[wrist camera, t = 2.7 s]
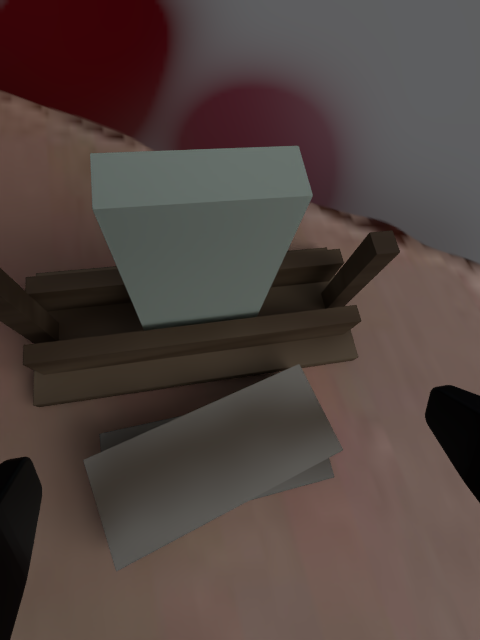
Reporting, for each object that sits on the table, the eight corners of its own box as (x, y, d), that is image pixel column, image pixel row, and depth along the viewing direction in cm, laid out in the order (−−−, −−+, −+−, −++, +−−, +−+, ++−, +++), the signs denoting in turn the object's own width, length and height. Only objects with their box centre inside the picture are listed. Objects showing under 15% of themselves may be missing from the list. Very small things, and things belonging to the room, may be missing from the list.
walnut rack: (353, 360, 23) (426, 318, 16) (39, 407, 20) (-52, 381, 12) (322, 253, 25) (373, 174, 18) (41, 279, 22) (-33, 196, 15)
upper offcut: (332, 450, 20) (343, 450, 18) (123, 561, 17) (116, 571, 15) (292, 370, 21) (299, 363, 20) (92, 459, 18) (83, 459, 17)
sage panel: (253, 324, 22) (312, 195, 11) (147, 337, 21) (92, 209, 10) (247, 295, 23) (298, 145, 12) (144, 307, 22) (90, 153, 10)
